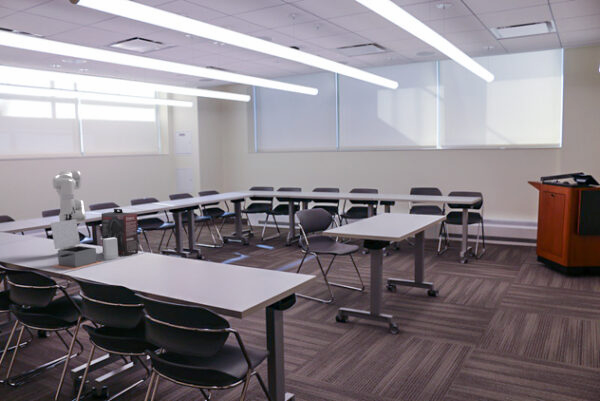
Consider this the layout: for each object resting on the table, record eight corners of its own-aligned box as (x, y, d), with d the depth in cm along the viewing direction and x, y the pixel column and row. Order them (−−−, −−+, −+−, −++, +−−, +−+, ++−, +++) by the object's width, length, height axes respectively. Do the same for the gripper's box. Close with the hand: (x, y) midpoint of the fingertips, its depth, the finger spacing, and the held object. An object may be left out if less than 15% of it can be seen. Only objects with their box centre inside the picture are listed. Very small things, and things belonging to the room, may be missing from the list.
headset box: (101, 253, 351) (100, 208, 348) (115, 249, 362) (114, 206, 359) (125, 256, 340) (123, 210, 337) (139, 253, 351) (137, 208, 348)
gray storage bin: (53, 266, 306) (52, 251, 305) (84, 259, 328) (83, 245, 327) (70, 269, 299) (69, 253, 298) (101, 261, 321) (100, 247, 320)
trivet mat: (50, 267, 308) (50, 266, 307) (82, 259, 329) (82, 258, 329) (72, 270, 298) (72, 269, 298) (103, 262, 320) (103, 262, 320)
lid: (55, 248, 308) (52, 249, 309) (80, 244, 324) (76, 244, 326) (51, 222, 307) (48, 223, 309) (76, 219, 324) (72, 219, 325)
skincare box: (115, 257, 336) (114, 236, 334) (118, 259, 331) (117, 238, 329) (103, 259, 330) (102, 238, 329) (106, 260, 326) (105, 239, 324)
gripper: (55, 197, 322) (56, 224, 324) (70, 198, 316) (71, 225, 317) (65, 196, 329) (66, 222, 331) (80, 197, 322) (81, 224, 324)
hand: (68, 224), depth 324 cm, fingers closed
